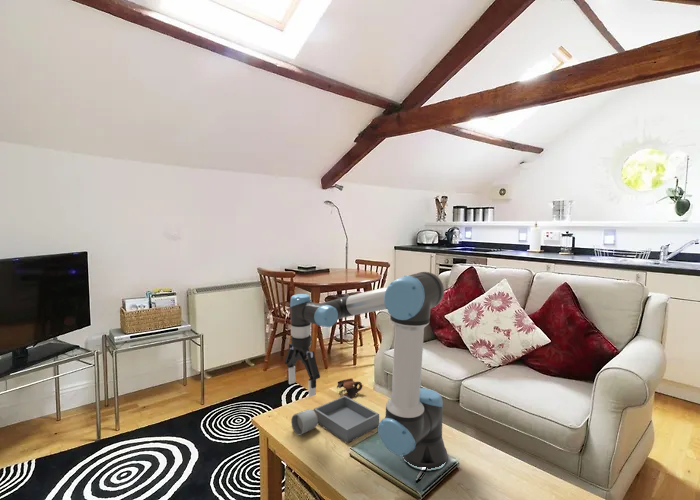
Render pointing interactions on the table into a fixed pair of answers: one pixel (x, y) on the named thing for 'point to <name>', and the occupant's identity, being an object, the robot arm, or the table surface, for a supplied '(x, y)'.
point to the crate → (347, 418)
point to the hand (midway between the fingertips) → (301, 389)
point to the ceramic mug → (304, 421)
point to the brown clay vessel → (350, 387)
